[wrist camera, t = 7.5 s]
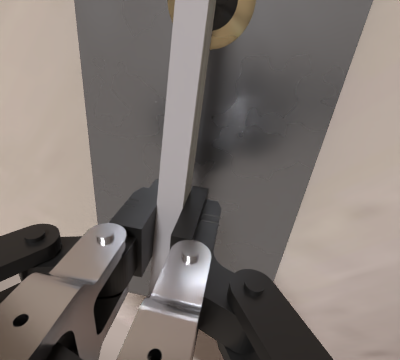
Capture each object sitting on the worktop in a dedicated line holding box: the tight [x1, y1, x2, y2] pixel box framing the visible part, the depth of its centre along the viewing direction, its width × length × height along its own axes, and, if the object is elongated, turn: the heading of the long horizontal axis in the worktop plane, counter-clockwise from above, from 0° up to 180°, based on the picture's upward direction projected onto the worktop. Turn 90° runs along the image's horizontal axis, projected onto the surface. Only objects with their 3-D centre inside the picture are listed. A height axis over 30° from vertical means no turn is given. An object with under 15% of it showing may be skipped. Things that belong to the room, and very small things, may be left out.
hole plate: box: [74, 0, 373, 296], centre depth 15 cm, size 12×22×1 cm, turn 174°
